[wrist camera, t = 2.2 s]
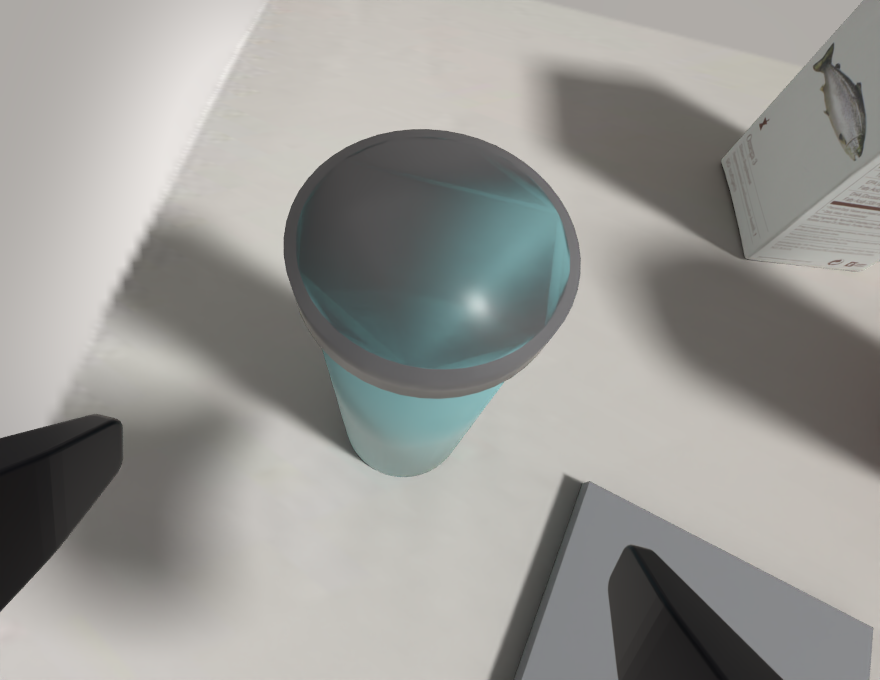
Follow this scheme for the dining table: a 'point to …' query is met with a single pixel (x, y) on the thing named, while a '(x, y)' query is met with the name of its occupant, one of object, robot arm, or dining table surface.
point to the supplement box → (816, 159)
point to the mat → (704, 570)
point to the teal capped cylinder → (426, 284)
